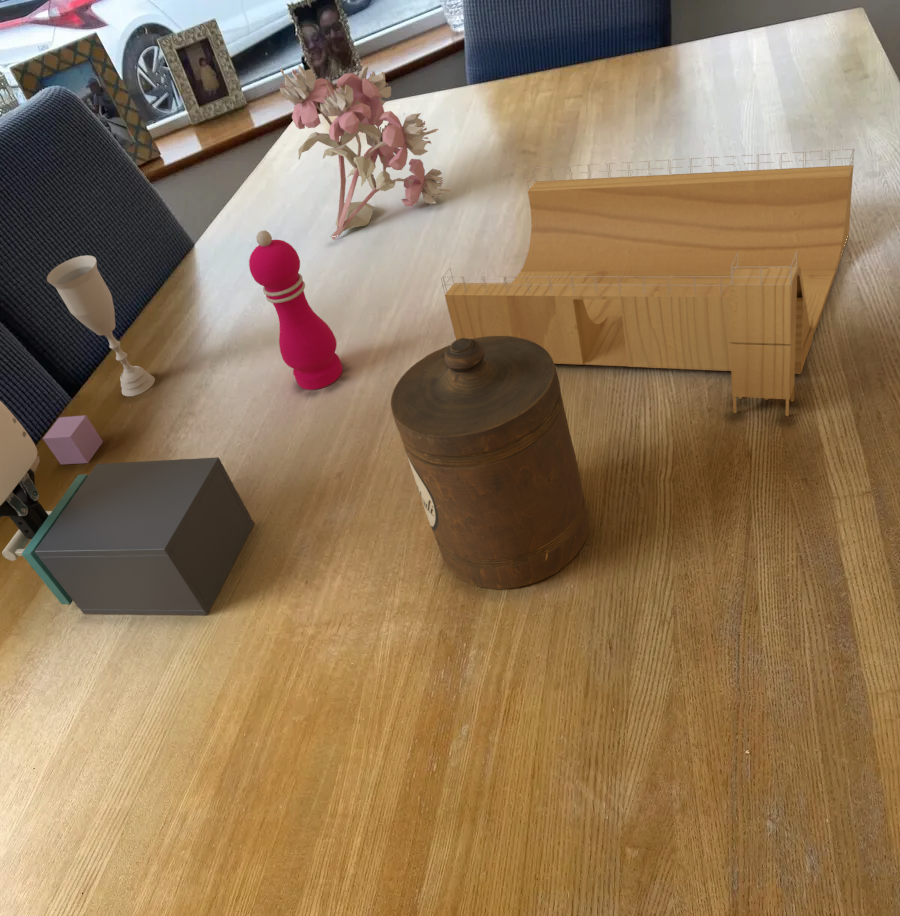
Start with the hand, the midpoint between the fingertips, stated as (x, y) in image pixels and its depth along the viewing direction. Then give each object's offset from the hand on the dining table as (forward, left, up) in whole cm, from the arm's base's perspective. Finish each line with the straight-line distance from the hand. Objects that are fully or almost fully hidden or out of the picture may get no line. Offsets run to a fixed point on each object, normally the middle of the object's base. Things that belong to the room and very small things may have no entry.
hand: (43, 533), depth 104 cm
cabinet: (+13, -3, -6) cm, 15 cm away
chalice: (0, +38, -6) cm, 38 cm away
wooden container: (+51, -9, -6) cm, 52 cm away
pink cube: (-5, +24, -6) cm, 25 cm away
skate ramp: (+70, +25, -6) cm, 75 cm away
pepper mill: (+28, +29, -6) cm, 40 cm away
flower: (+38, +73, -6) cm, 82 cm away
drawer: (+7, -2, -5) cm, 9 cm away
